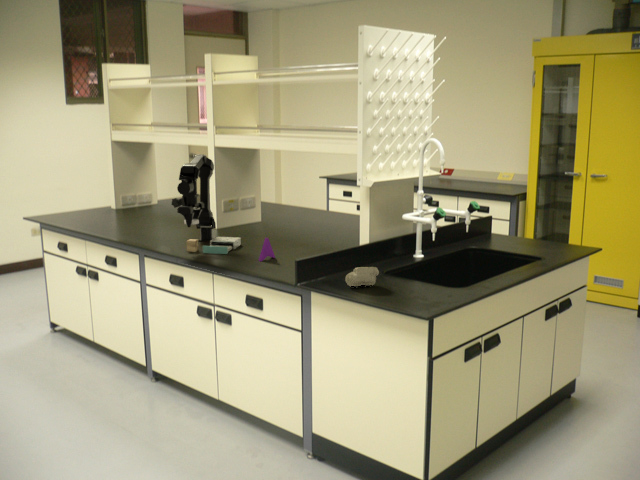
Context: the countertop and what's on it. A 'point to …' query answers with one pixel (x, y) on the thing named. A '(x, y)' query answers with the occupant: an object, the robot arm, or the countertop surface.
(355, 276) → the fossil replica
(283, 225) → the countertop surface
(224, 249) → the tray
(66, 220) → the countertop surface
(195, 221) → the disc
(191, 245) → the beech block
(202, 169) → the robot arm
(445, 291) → the countertop surface
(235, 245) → the block
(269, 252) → the arrowhead
